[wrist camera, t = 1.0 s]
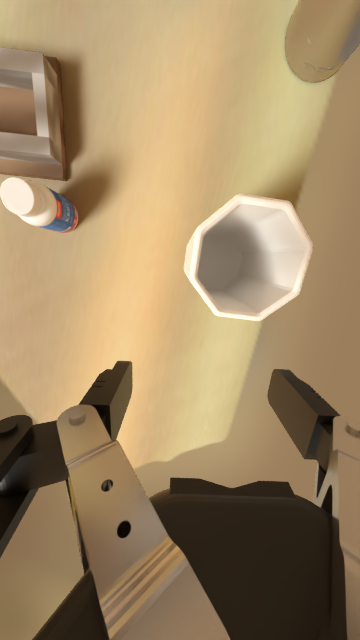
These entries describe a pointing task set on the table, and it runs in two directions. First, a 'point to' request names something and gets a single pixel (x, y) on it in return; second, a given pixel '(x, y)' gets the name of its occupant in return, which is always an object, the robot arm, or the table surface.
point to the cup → (249, 257)
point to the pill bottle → (38, 205)
